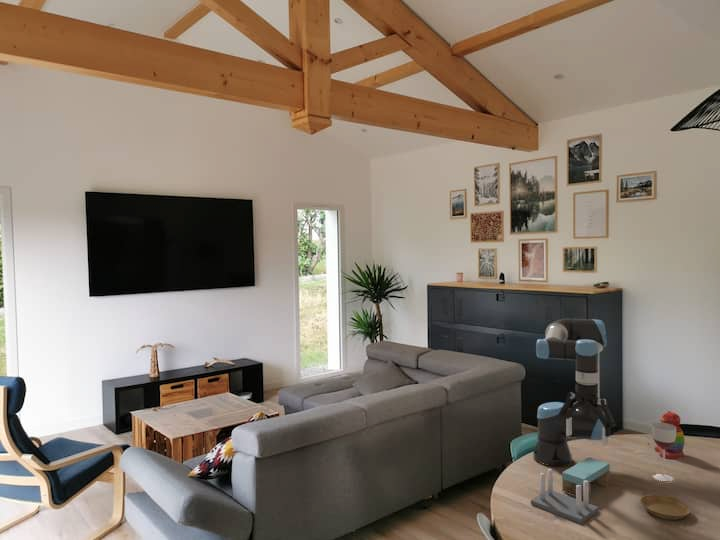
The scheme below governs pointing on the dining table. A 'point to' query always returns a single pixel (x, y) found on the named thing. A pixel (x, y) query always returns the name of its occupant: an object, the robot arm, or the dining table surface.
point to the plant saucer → (665, 506)
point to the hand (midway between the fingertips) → (586, 440)
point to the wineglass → (664, 443)
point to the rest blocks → (601, 480)
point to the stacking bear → (679, 441)
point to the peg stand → (564, 501)
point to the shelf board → (586, 471)
